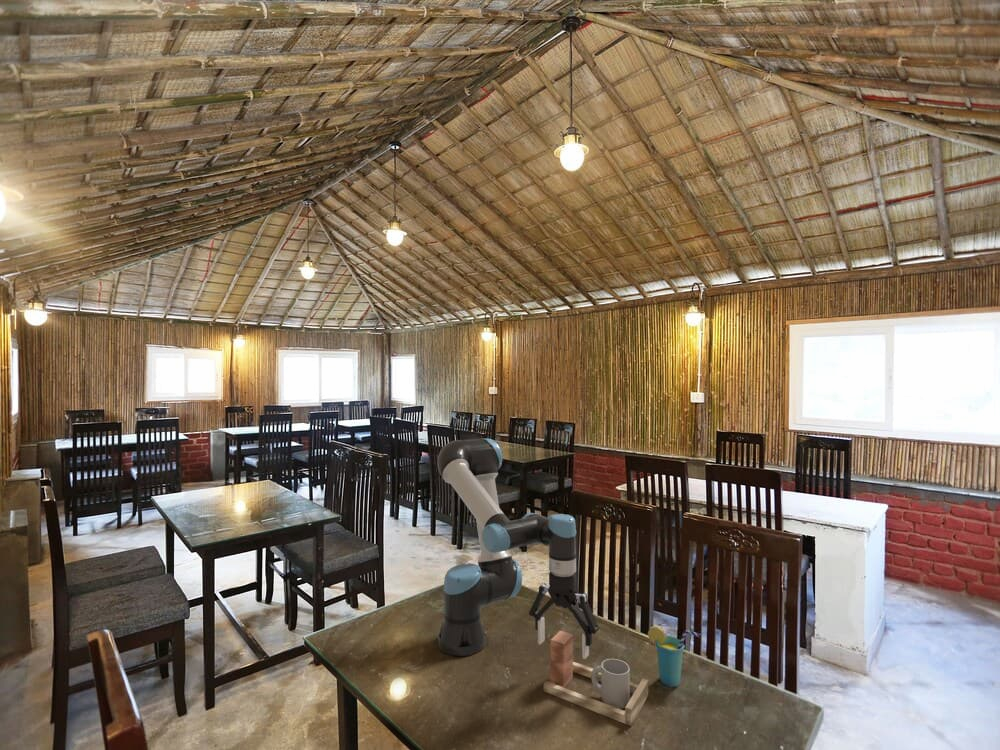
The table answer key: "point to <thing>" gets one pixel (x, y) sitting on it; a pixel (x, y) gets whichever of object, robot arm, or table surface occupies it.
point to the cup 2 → (669, 655)
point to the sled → (564, 671)
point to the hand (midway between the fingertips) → (562, 649)
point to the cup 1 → (613, 682)
